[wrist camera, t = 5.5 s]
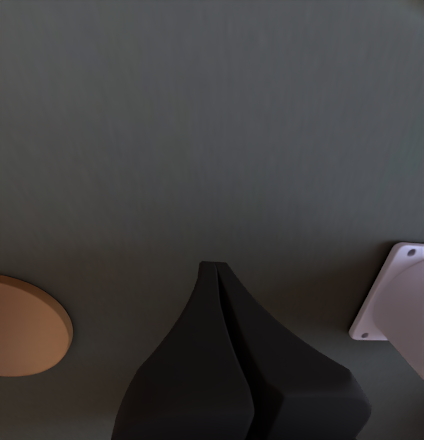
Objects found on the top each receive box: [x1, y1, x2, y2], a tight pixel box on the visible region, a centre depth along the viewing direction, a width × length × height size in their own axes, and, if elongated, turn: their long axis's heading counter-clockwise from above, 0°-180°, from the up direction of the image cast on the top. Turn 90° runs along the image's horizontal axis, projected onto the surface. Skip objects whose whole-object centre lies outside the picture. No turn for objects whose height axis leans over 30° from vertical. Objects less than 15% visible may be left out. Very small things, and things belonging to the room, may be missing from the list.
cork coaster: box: [0, 275, 73, 377], centre depth 14 cm, size 8×8×1 cm
